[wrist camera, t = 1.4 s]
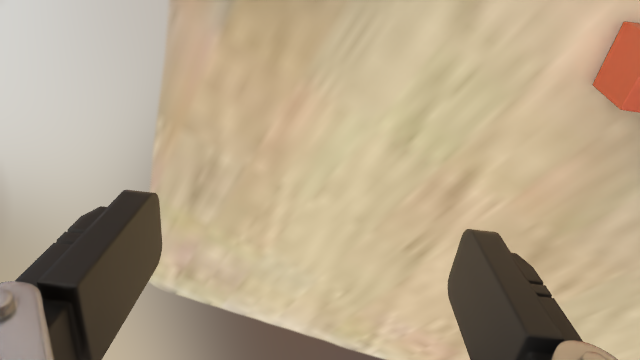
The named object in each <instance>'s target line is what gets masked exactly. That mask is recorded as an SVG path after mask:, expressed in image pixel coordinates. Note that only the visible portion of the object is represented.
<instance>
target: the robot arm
mask: <svg viewBox="0 0 640 360" xmlns="http://www.w3.org/2000/svg"><path fill="white" fill-rule="evenodd" d="M161 251H162V235H161V221H160V206H159V198H158V196H157V194H156V193H150V192H140V191H132V190H124V191H123V192H122V193H121V194H120V195H119V196H118V197H117V198H116V199H115V200H114V201H113V202H112V203H111V204H110V205H109V206H108V207H99V208H97V209H95V210H93V211H91V212H89V213H87V214H85V215H83V216H81V217H80V218H79V219H78V220H77V221H76V222H75V223H74V224H73V225H72V226H71V227H70V228H69V229H68V232H65V233H64V234H63V235H62V236H60V238H58V239H57V242H56V243H53V244H52V245H51V246H50V247H49V248H48V249H47V250H46V251H45V252H44V253H43V254H42V255H41V256H40V257H39V258H38V259H37V260H36V261H35V262H34V263H33V264H32V265H31V266H30V267H29V268H28V269H27V270H26V271H25V272H24V273H23V274H21V276H19V277H18V278H17V279H16V280H15V281H12V282H2V283H0V360H101V359H102V358H103V356H104V355H105V353H106V351H107V350H108V348H109V346H110V344H111V343H112V341H113V339H114V338H115V336H116V335H117V333H118V331H119V330H120V328H121V326H122V324H123V323H124V321H125V319H126V318H127V316H128V314H129V313H130V311H131V309H132V308H133V306H134V304H135V303H136V301H137V299H138V298H139V296H140V294H141V293H142V291H143V289H144V287H145V286H146V284H147V282H148V281H149V279H150V277H151V276H152V274H153V272H154V271H155V269H156V267H157V265H158V263H159V260H160V256H161ZM448 296H449V300H450V303H451V306H452V309H453V311H454V314H455V317H456V320H457V323H458V326H459V328H460V331H461V334H462V337H463V340H464V343H465V345H466V348H467V351H468V354H469V357H470V359H471V360H618V359H616V358H615V357H614V356H612V355H611V354H609V353H608V352H606V351H604V350H603V349H601V348H599V347H596V346H594V345H591V344H589V343H585V342H583V341H582V339H581V338H580V336H579V335H578V333H577V332H576V330H575V329H574V327H573V326H572V325H571V323H570V322H569V320H568V319H567V317H566V316H565V314H564V313H563V311H562V310H561V308H560V307H559V305H558V304H557V302H556V301H555V299H554V298H552V297H551V296H552V295H551V293H550V292H549V290H548V289H547V287H546V286H545V285H543V282H542V280H541V279H540V277H539V276H538V274H537V273H536V271H535V270H534V268H533V267H532V266H531V265H529V264H528V263H527V262H526V261H525V260H523V259H522V258H521V257H520V256H519V255H517V254H515V253H511V252H510V251H509V249H508V248H507V246H506V244H505V243H504V241H503V240H502V238H501V236H500V235H499V234H498V233H496V232H489V231H480V230H472V229H467V230H466V231H465V232H464V233H463V235H462V238H461V241H460V244H459V247H458V250H457V253H456V256H455V259H454V262H453V265H452V269H451V272H450V275H449V279H448Z"/></svg>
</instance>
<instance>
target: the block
mask: <svg viewBox="0 0 640 360" xmlns="http://www.w3.org/2000/svg"><path fill="white" fill-rule="evenodd" d="M593 86H594V87H595V88H596V89H598V90H599V91H600V92H601V93H602V94H603V95H604V96H606V97H607V98H608V99H609V100H610V101H611V102H612V103H614V104H615V105H616V106H617V107H618V108H619V109H621V110H626V111H633V112H639V113H640V24H639V23H632V22H624V23H623V25H622V27H621V29H620V31H619V33H618V35H617V37H616V39H615V41H614V43H613V45H612V47H611V49H610V51H609V53H608V55H607V57H606V59H605V61H604V63H603V65H602V67H601V69H600V71H599V73H598V75H597V77H596V79H595V81H594V83H593Z"/></svg>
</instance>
